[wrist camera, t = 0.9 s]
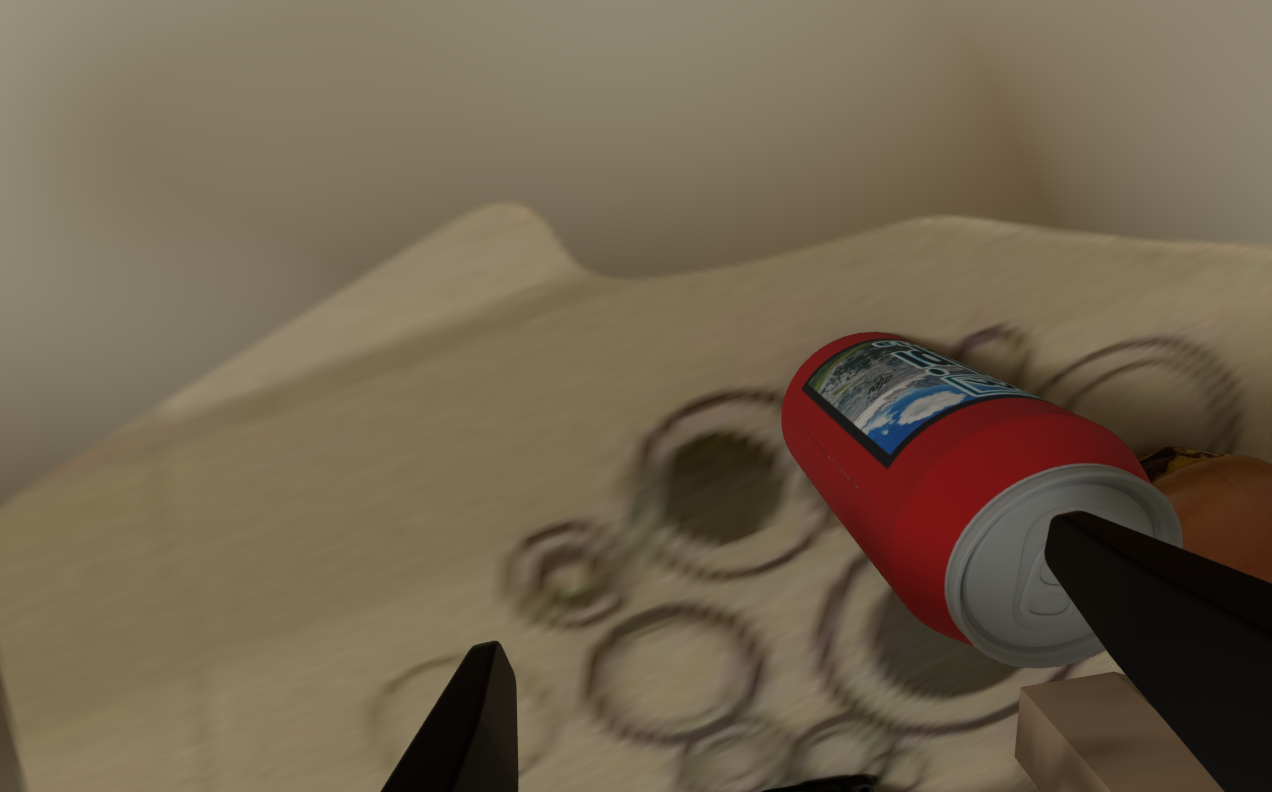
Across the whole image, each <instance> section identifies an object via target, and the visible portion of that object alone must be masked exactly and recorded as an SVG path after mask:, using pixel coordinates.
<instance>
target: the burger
mask: <svg viewBox="0 0 1272 792" xmlns="http://www.w3.org/2000/svg"><path fill="white" fill-rule="evenodd" d="M1138 461H1139V462H1140V464H1141V466H1142V468H1143V469H1144V471H1145V473H1146V475H1147V476H1148V478H1149V480H1150V482H1151V484H1152V485H1153V486H1154V487H1155V488H1157V489H1158V490H1159V491H1160V492H1161V493H1162V494H1163V495H1164V496H1165V497H1166V498H1167V499H1168V500H1169V501H1170V503H1171V504H1172V506H1173V508H1174V509H1175V511H1176V513H1177V515H1178V518H1179V521H1180V524H1181V530H1182V537H1183V547H1182V549H1184V550H1187V551H1190V552H1192V553H1195V554H1197V555H1200V556H1203V557H1205V558H1208V559H1210V560H1213V561H1216V562H1218V563H1221V564H1223V565H1226V566H1228V567H1231V568H1234V569H1236V570H1239V571H1241V572H1244V573H1247V574H1249V575H1252V576H1254V577H1257V578H1260V579H1262V580H1265V581H1267V582H1270V583H1272V464H1270V463H1268V462H1266V461H1263V460H1261V459H1256V458H1251V457H1246V456H1241V455H1236V456H1235V455H1231V454H1226V453H1224V455H1216V454H1213V453H1210V452H1207V451H1198V450H1194V449H1186V448H1176V447H1166V448H1163V449H1161V450H1158V451H1156V452H1154V453H1151V454H1149V455H1147V456H1145V457H1143V458H1141V459H1139V460H1138Z"/></svg>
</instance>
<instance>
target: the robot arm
mask: <svg viewBox="0 0 1272 792" xmlns="http://www.w3.org/2000/svg"><path fill="white" fill-rule="evenodd" d="M1044 556H1045V560H1046V563H1047V565H1048V567H1049V569H1050V570H1051V572H1052V573H1053V575H1054V576H1055V578H1056V579H1057V580H1058V582H1059V583H1060V585H1061V586H1062V588H1063V589H1064V591H1065V592H1066V593H1067V595H1068V596H1069V598H1070V599H1071V601H1072V602H1073V603H1074V605H1075V606H1076V608H1077V609H1078V611H1079V612H1080V614H1081V615H1082V616H1083V618H1084V619H1085V621H1086V622H1087V624H1088V625H1089V626H1090V628H1091V629H1092V631H1093V632H1094V634H1095V635H1096V637H1097V638H1098V639H1099V641H1100V642H1101V644H1102V645H1103V646H1104V648H1105V649H1106V650H1107V652H1108V653H1109V654H1110V656H1111V657H1112V658H1113V659H1114V661H1115V662H1116V663H1117V664H1118V666H1119V667H1120V668H1121V669H1122V671H1123V672H1124V673H1125V674H1126V675H1127V677H1128V678H1129V679H1130V680H1131V681H1132V683H1133V684H1134V685H1135V686H1136V687H1137V688H1138V690H1139V691H1140V692H1141V693H1142V694H1143V696H1144V697H1145V698H1146V699H1147V700H1148V702H1149V703H1150V704H1151V705H1152V706H1153V708H1154V709H1155V710H1156V711H1157V712H1158V713H1159V715H1160V716H1161V717H1162V718H1163V719H1164V721H1165V722H1166V723H1167V724H1168V725H1169V727H1170V728H1171V729H1172V730H1173V731H1174V733H1175V734H1176V735H1177V736H1178V737H1179V738H1180V740H1181V741H1182V742H1183V743H1184V744H1185V746H1186V747H1187V748H1188V749H1189V750H1190V752H1191V753H1192V754H1193V755H1194V756H1195V758H1196V759H1197V760H1198V761H1199V762H1200V763H1201V765H1202V766H1203V767H1204V768H1205V769H1206V771H1207V772H1208V773H1209V774H1210V775H1211V777H1212V778H1213V779H1214V780H1215V781H1216V783H1217V784H1218V785H1219V786H1220V787H1221V788H1222V790H1223V791H1224V792H1272V583H1270V582H1267V581H1265V580H1262V579H1260V578H1257V577H1254V576H1252V575H1249V574H1247V573H1244V572H1241V571H1239V570H1236V569H1234V568H1231V567H1228V566H1226V565H1223V564H1221V563H1218V562H1216V561H1213V560H1210V559H1208V558H1205V557H1203V556H1200V555H1197V554H1195V553H1192V552H1190V551H1187V550H1184V549H1182V548H1179V547H1177V546H1174V545H1171V544H1169V543H1166V542H1164V541H1161V540H1159V539H1156V538H1153V537H1151V536H1148V535H1146V534H1143V533H1140V532H1138V531H1135V530H1133V529H1130V528H1127V527H1125V526H1122V525H1120V524H1117V523H1114V522H1112V521H1109V520H1107V519H1104V518H1101V517H1099V516H1096V515H1094V514H1091V513H1088V512H1085V511H1081V510H1076V511H1071V512H1067V513H1062V514H1058V515H1055V516H1054V517H1053V518H1052V519H1051V521H1050V525H1049V530H1048V535H1047V539H1046V544H1045V549H1044ZM381 792H518V735H517V690H516V679H515V675H514V672H513V669H512V667H511V665H510V663H509V661H508V658H507V656H506V654H505V652H504V650H503V648H502V646H501V644H500V643H499V642H498V641H490V642H486V643H481V644H477V645H474V646H473V647H472V648H471V649H470V650H469V651H468V653H467V655H466V656H465V658H464V659H463V661H462V663H461V664H460V666H459V667H458V669H457V671H456V672H455V674H454V675H453V677H452V678H451V680H450V682H449V683H448V685H447V686H446V688H445V690H444V691H443V693H442V694H441V696H440V698H439V699H438V701H437V702H436V704H435V706H434V707H433V709H432V710H431V712H430V713H429V715H428V717H427V718H426V720H425V721H424V723H423V725H422V726H421V728H420V729H419V731H418V733H417V734H416V736H415V737H414V739H413V741H412V742H411V744H410V745H409V747H408V749H407V750H406V752H405V753H404V755H403V756H402V758H401V760H400V761H399V763H398V764H397V766H396V768H395V769H394V771H393V772H392V774H391V776H390V777H389V779H388V780H387V782H386V784H385V785H384V787H383V788H382V790H381ZM775 792H874V789H873V786H872V784H871V782H870V780H869V779H868V778H866V777H859V778H853V779H847V780H841V781H835V782H829V783H823V784H817V785H811V786H805V787H799V788H793V789H787V790H781V791H775Z"/></svg>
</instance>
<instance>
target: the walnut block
mask: <svg viewBox="0 0 1272 792" xmlns="http://www.w3.org/2000/svg"><path fill="white" fill-rule="evenodd" d="M1015 758H1016V759H1017V760H1018V762H1019V763H1020V764H1021V766H1022V767H1023V768H1024V770H1025V771H1026V772H1027V774H1028V775H1029V776H1030V778H1031V779H1032V780H1033V782H1034V783H1035V784H1036V786H1037V787H1038V789H1039V790H1040V791H1041V792H1224V791H1223V790H1222V788H1221V787H1220V786H1219V785H1218V784H1217V783H1216V781H1215V780H1214V779H1213V778H1212V777H1211V775H1210V774H1209V773H1208V772H1207V771H1206V769H1205V768H1204V767H1203V766H1202V765H1201V763H1200V762H1199V761H1198V760H1197V759H1196V758H1195V756H1194V755H1193V754H1192V753H1191V752H1190V750H1189V749H1188V748H1187V747H1186V746H1185V744H1184V743H1183V742H1182V741H1181V740H1180V738H1179V737H1178V736H1177V735H1176V734H1175V733H1174V731H1173V730H1172V729H1171V728H1170V727H1169V725H1168V724H1167V723H1166V722H1165V721H1164V719H1163V718H1162V717H1161V716H1160V715H1159V713H1158V712H1157V711H1156V710H1155V709H1154V708H1153V707H1152V706H1151V705H1150V704H1149V703H1147V702H1146V701H1145V700H1144V699H1143V698H1142V697H1141V696H1140V695H1139V694H1138V693H1136V692H1135V691H1134V690H1133V689H1132V688H1131V687H1130V686H1129V685H1128V684H1127V683H1125V682H1124V681H1123V680H1122V679H1121V678H1120V677H1119V676H1118V675H1117V674H1116V673H1114V672H1110V673H1104V674H1098V675H1092V676H1086V677H1080V678H1074V679H1068V680H1061V681H1055V682H1049V683H1043V684H1037V685H1031V686H1025V687H1021V689H1020V701H1019V712H1018V724H1017V736H1016V748H1015Z"/></svg>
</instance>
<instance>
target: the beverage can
mask: <svg viewBox="0 0 1272 792" xmlns="http://www.w3.org/2000/svg"><path fill="white" fill-rule="evenodd" d="M781 419H782V431H783V436H784V439H785V442H786V445H787V447H788V449H789V451H790V453H791V454H792V456H793V457H794V459H795V460H796V461H797V463H798V464H799V465H800V467H801V468H802V470H803V471H804V472H805V474H806V475H807V477H808V478H809V479H810V481H811V482H812V484H813V485H814V486H815V488H816V489H817V490H818V492H819V493H820V494H821V496H822V497H823V498H824V500H825V501H826V502H827V504H828V505H829V506H830V508H831V509H832V510H833V512H834V513H835V514H836V516H837V517H838V519H839V520H840V521H841V523H842V524H843V525H844V526H845V528H846V529H847V530H848V532H849V533H850V534H851V536H852V537H853V538H854V540H855V541H856V542H857V543H858V545H859V546H860V547H861V549H862V550H863V551H864V553H865V554H866V555H867V557H868V558H869V559H870V561H871V562H872V563H873V564H874V566H875V567H876V568H877V570H878V571H879V572H880V573H881V575H882V576H883V577H884V578H885V580H886V581H887V582H888V584H889V585H890V586H891V587H892V589H893V590H894V591H895V593H896V594H897V595H898V596H899V598H900V599H901V600H902V602H903V603H904V604H905V605H906V607H907V608H908V609H909V610H910V611H911V612H912V614H913V615H914V616H916V617H917V618H918V619H919V620H920V621H921V622H923V623H924V624H925V625H927V626H929V627H930V628H932V629H934V630H935V631H937V632H939V633H941V634H943V635H945V636H948V637H950V638H953V639H956V640H959V641H961V642H964V643H967V644H969V645H972V646H975V647H976V648H977V649H978V650H980V651H981V652H982V653H984V654H985V655H987V656H989V657H990V658H993V659H995V660H997V661H999V662H1002V663H1005V664H1008V665H1012V666H1017V667H1022V668H1051V667H1059V666H1064V665H1069V664H1073V663H1077V662H1080V661H1083V660H1085V659H1088V658H1091V657H1093V656H1096V655H1098V654H1100V653H1102V652H1104V651H1106V649H1105V648H1104V646H1103V645H1102V644H1101V642H1100V641H1099V639H1098V638H1097V637H1096V635H1095V634H1094V632H1093V631H1092V629H1091V628H1090V626H1089V625H1088V624H1087V622H1086V621H1085V619H1084V618H1083V616H1082V615H1081V614H1080V612H1079V611H1078V609H1077V608H1076V606H1075V605H1074V603H1073V602H1072V601H1071V599H1070V598H1069V596H1068V595H1067V593H1066V592H1065V591H1064V589H1063V588H1062V586H1061V585H1060V583H1059V582H1058V580H1057V579H1056V578H1055V576H1054V575H1053V573H1052V572H1051V570H1050V569H1049V567H1048V565H1047V563H1046V560H1045V556H1044V549H1045V544H1046V539H1047V535H1048V530H1049V525H1050V521H1051V519H1052V518H1053V517H1054V516H1055V515H1058V514H1062V513H1067V512H1071V511H1076V510H1081V511H1085V512H1088V513H1091V514H1094V515H1096V516H1099V517H1101V518H1104V519H1107V520H1109V521H1112V522H1114V523H1117V524H1120V525H1122V526H1125V527H1127V528H1130V529H1133V530H1135V531H1138V532H1140V533H1143V534H1146V535H1148V536H1151V537H1153V538H1156V539H1159V540H1161V541H1164V542H1166V543H1169V544H1171V545H1174V546H1177V547H1179V548H1182V547H1183V537H1182V530H1181V524H1180V521H1179V518H1178V515H1177V513H1176V511H1175V509H1174V508H1173V506H1172V504H1171V503H1170V501H1169V500H1168V499H1167V498H1166V497H1165V496H1164V495H1163V494H1162V493H1161V492H1160V491H1159V490H1158V489H1157V488H1155V487H1154V486H1153V485H1152V484H1151V482H1150V480H1149V478H1148V476H1147V475H1146V473H1145V471H1144V469H1143V468H1142V466H1141V464H1140V462H1139V461H1138V459H1137V458H1136V456H1135V455H1134V453H1133V452H1132V451H1131V450H1130V448H1129V447H1128V446H1127V445H1126V444H1125V443H1124V442H1123V441H1122V440H1121V439H1120V438H1119V437H1118V436H1116V435H1115V434H1114V433H1112V432H1111V431H1109V430H1108V429H1106V428H1104V427H1103V426H1101V425H1098V424H1096V423H1094V422H1092V421H1090V420H1088V419H1085V418H1083V417H1081V416H1079V415H1077V414H1074V413H1072V412H1070V411H1068V410H1066V409H1063V408H1061V407H1059V406H1057V405H1055V404H1053V403H1050V402H1048V401H1046V400H1044V399H1042V398H1039V397H1037V396H1035V395H1033V394H1031V393H1028V392H1026V391H1024V390H1022V389H1019V388H1017V387H1015V386H1013V385H1010V384H1008V383H1006V382H1004V381H1001V380H999V379H997V378H995V377H992V376H990V375H988V374H986V373H983V372H981V371H979V370H977V369H974V368H972V367H970V366H967V365H965V364H963V363H960V362H958V361H956V360H953V359H951V358H949V357H946V356H944V355H942V354H939V353H937V352H935V351H932V350H930V349H927V348H925V347H923V346H920V345H918V344H915V343H913V342H910V341H908V340H906V339H903V338H901V337H898V336H895V335H891V334H887V333H880V332H865V333H858V334H853V335H849V336H845V337H843V338H840V339H837V340H835V341H833V342H831V343H829V344H827V345H826V346H824V347H822V348H821V349H820V350H818V351H817V352H816V353H814V354H813V355H812V356H811V357H810V358H809V359H808V360H807V361H806V362H805V363H804V364H803V365H802V366H801V367H800V369H799V370H798V371H797V373H796V374H795V376H794V377H793V379H792V381H791V383H790V385H789V387H788V389H787V392H786V395H785V398H784V402H783V407H782V417H781Z"/></svg>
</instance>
